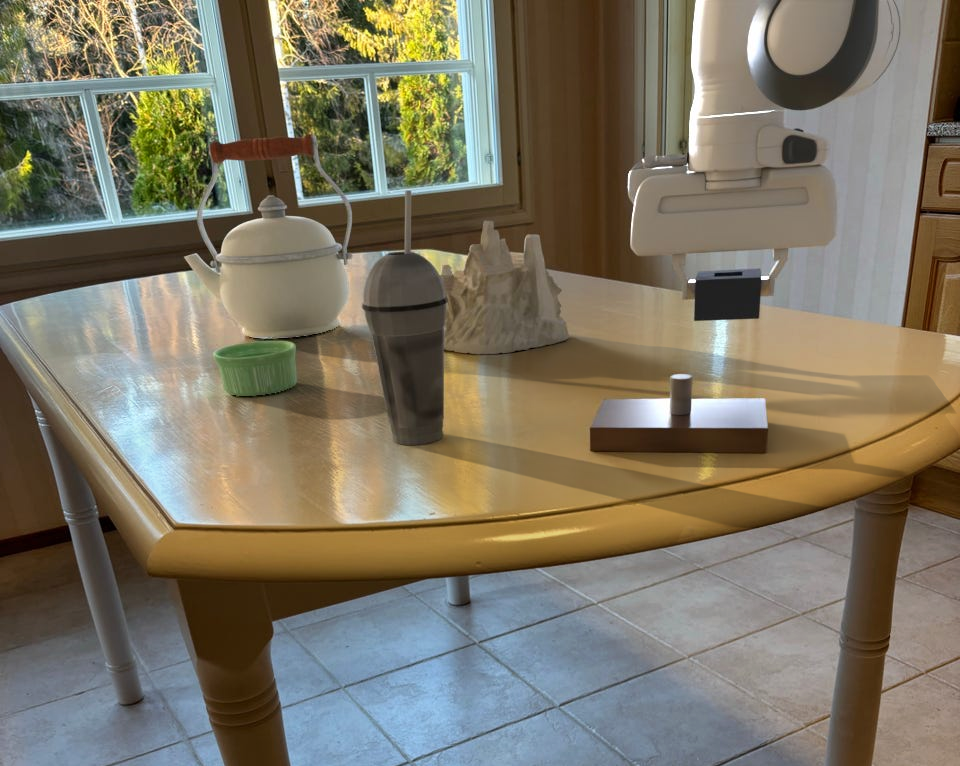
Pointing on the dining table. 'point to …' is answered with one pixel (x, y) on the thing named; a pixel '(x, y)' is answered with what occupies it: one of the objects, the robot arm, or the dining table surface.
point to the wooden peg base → (680, 423)
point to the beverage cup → (408, 339)
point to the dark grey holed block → (727, 294)
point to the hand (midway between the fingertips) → (727, 297)
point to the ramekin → (257, 367)
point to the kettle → (276, 255)
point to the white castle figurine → (501, 299)
